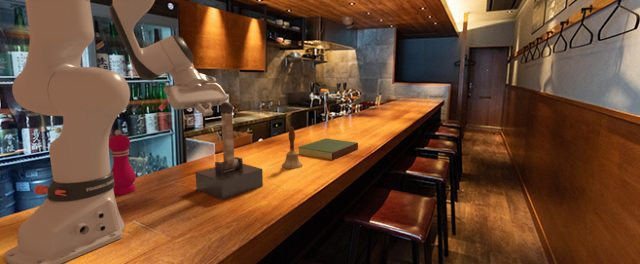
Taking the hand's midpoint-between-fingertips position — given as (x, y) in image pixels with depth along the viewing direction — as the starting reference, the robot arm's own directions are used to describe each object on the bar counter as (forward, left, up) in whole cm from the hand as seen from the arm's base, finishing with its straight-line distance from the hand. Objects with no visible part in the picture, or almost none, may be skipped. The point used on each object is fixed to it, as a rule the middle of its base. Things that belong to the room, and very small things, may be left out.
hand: (208, 114), depth 115 cm
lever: (-3, -9, -17) cm, 20 cm away
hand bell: (+28, -18, -24) cm, 41 cm away
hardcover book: (+57, -25, -24) cm, 67 cm away
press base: (-3, -9, -24) cm, 26 cm away
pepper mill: (-17, +21, -24) cm, 36 cm away
